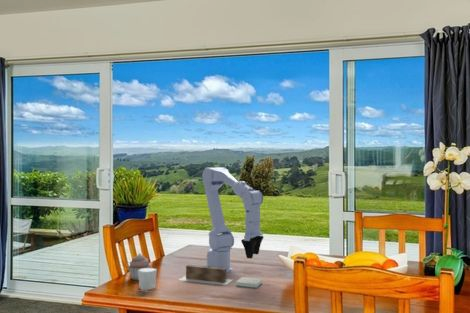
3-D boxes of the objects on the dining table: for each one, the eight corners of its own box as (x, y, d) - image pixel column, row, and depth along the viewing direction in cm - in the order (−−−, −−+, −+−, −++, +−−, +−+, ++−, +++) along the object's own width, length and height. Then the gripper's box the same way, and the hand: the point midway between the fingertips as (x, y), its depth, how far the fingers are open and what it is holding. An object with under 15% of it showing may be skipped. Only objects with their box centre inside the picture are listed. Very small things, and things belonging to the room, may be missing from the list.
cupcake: (139, 274, 194) (140, 249, 193) (156, 277, 188) (156, 252, 188) (122, 279, 186) (122, 253, 186) (138, 283, 180) (138, 257, 180)
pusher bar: (186, 278, 185) (186, 266, 185) (188, 277, 188) (188, 264, 188) (223, 282, 180) (224, 269, 180) (226, 281, 182) (226, 268, 182)
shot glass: (160, 286, 175) (160, 268, 175) (150, 292, 169) (150, 272, 169) (143, 285, 178) (143, 266, 178) (134, 290, 171) (134, 271, 171)
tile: (236, 281, 176) (256, 284, 173) (242, 277, 182) (262, 279, 180) (236, 286, 176) (256, 288, 173) (242, 281, 182) (261, 283, 180)
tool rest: (177, 280, 183) (177, 279, 183) (186, 275, 191) (186, 274, 191) (225, 286, 177) (225, 285, 177) (233, 280, 184) (233, 279, 184)
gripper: (256, 224, 177) (256, 260, 177) (267, 219, 190) (267, 253, 190) (239, 223, 179) (239, 259, 179) (251, 218, 193) (251, 251, 193)
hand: (252, 256), depth 185 cm, fingers open, 7 cm apart
